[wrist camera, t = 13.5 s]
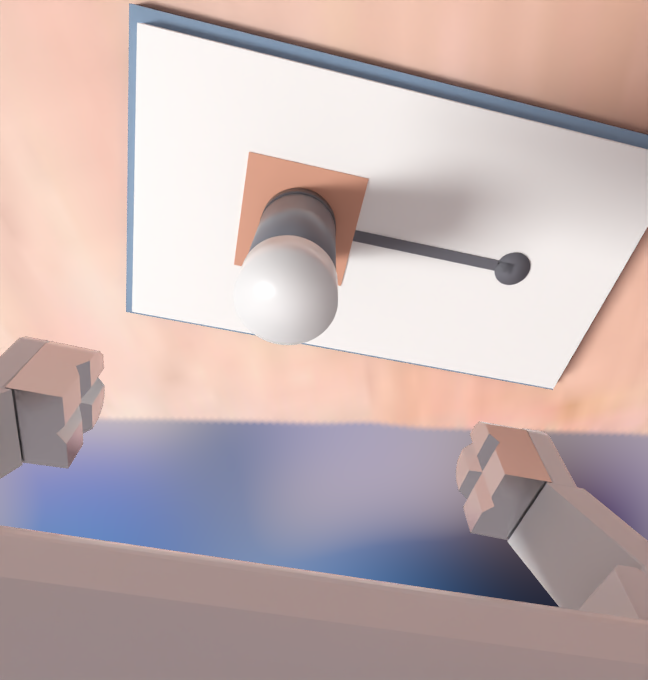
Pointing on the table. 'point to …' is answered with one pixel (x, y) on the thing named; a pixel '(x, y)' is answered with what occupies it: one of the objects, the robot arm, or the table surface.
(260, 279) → the white-topped grey cylinder
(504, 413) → the table surface
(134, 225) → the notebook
